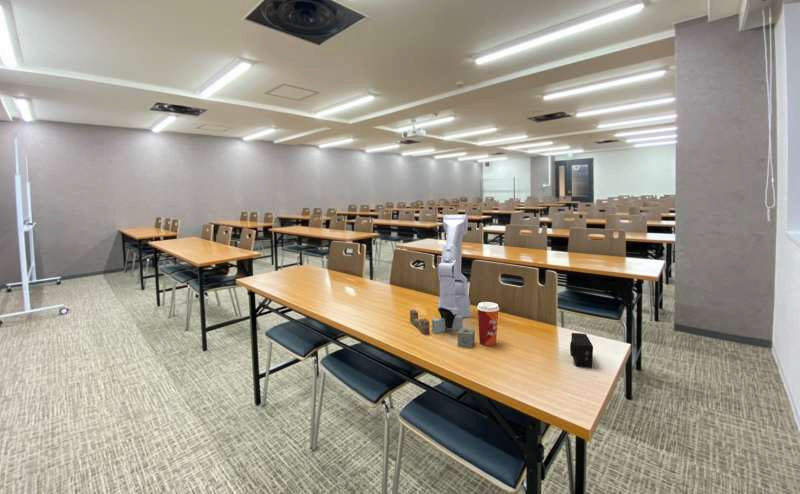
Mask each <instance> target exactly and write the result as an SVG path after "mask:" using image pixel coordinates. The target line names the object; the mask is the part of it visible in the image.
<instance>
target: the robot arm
mask: <svg viewBox="0 0 800 494" xmlns="http://www.w3.org/2000/svg"><path fill="white" fill-rule="evenodd" d="M468 224H469V220H468V215H467V214H465V213H464V214H444V215H443V217H442V227H443V229H444V232H445V234H446V243H445V244H446V245H444V247H442V253H441V259H440V263H438V264H437V265H438V266H437V277H438V281H439V298H438V299H437V305H436V306H437V312H439V315H440V318H445V326H444V327H445V328H446V329H447V330H448V329H450V328H452V325H453V321H454V318H455V316H462V317H463V318H470V317H471V316H472V315H471V300H470V297H469V295H468V279H467V277H466V276H465V275H464V274H463V273H462V249H463V248H462V247H463V237H464V236H465V235H467V234H468V229H469V227H468V226H469V225H468Z"/></svg>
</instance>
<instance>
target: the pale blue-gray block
mask: <svg viewBox="0 0 800 494" xmlns="http://www.w3.org/2000/svg"><path fill="white" fill-rule="evenodd" d="M463 318H464V317H462V316H455V318H454V321H453V325H452V328H449V329H450V330H451V331H452V332H455V331H459V330H460V328H464V327H463V321H464V319H463ZM431 325H432V326H431V331H432V333H433V334H441V333H445V328H446V326H445V318H441V317H440V318H432V319H431ZM444 326H445V327H444Z"/></svg>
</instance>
